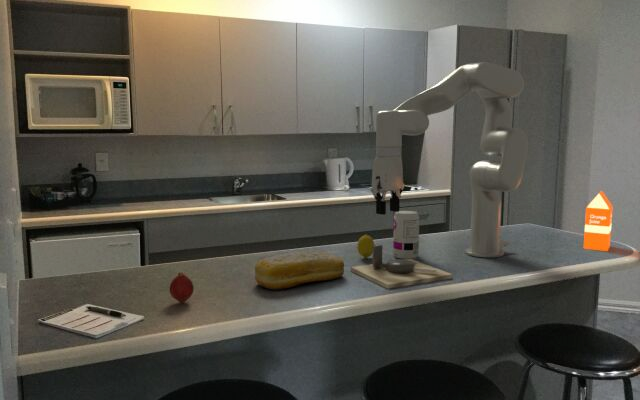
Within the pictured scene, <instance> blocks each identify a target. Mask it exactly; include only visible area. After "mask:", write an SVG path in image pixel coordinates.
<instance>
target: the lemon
mask: <svg viewBox="0 0 640 400" xmlns="http://www.w3.org/2000/svg"><path fill="white" fill-rule="evenodd" d="M357 242H358V243H357V252H358V254H359V255H360V256H361V257H363V258H364V259H368V258H369V257H370V256H373V245H375V242H374V239H373V238H372V237H371V236H370V235H368V234H364V235H362V236H361V237H360V238H359V239H358V241H357Z"/></svg>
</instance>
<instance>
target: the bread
mask: <svg viewBox="0 0 640 400" xmlns="http://www.w3.org/2000/svg"><path fill="white" fill-rule="evenodd" d="M344 273H345V263H344V260H342V259H341V258H340V257H338V256H336V255H334V254H332V253H329V252H323V251H321V252H320V251H319V252H318V251H317V252H316V251H304V250H303V251H297V252H290V253H283V254H278V255H273V256H269V257H266V258H263V259H261V260H259V261H257V262H256V264H255V266H254V279H255V281H256V283H257V284H258V286H259V287H264V288H265V289H268V290H284V289H289V288H293V287H296V286H298V285H303V284H306V283H307V284H308V283H311V282H320V281H321V282H322V281H330V280H331V281H332V280H336V279H340V278H341V277H343V275H344Z"/></svg>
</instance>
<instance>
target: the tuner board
mask: <svg viewBox="0 0 640 400" xmlns="http://www.w3.org/2000/svg"><path fill="white" fill-rule="evenodd" d="M405 260H408V261H412V262H414V267H418V268H427V269H437V270H436V273H435V272H425V271H416V270H414V271H412V272H406V273H398V272H392V271H389V270H387V268H375V267H373V263H371V264H370V263H369V264H364V265H356V266H351V267H350V272H352V273H354V274H355V275H356V274H357V275H358V276H360V277H362V278H364V279H366V280H369V281H370V282H372V283H375V284H377V285H379V286H381V287H383V288H385V289H387V290H389V289H396V288H402V287H408V286H413V285H420V284H425V283H431V282H438V281H444V280H451V279H453V273H450V272H447V271H445V270H442V269H440V268H436V267H434V266H431V265H429V264H426V263H424V262H421V261H418V260H416V259H405ZM387 262H388V261H385V263H387Z"/></svg>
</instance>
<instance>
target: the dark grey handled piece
mask: <svg viewBox="0 0 640 400" xmlns="http://www.w3.org/2000/svg"><path fill="white" fill-rule="evenodd" d="M385 262H387V263H385ZM385 262H383V245H382V244H374V245H373V254H372V264H373V267H375V268H387V270H389V271H392V272H398V273H406V272H412V271H414V270H416V271H425V272H435V273H436V270H437V269H438V268H437V269H427V268H418V267H414V262H412V261H408V260H406V259H391V260H388V261H385Z"/></svg>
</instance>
